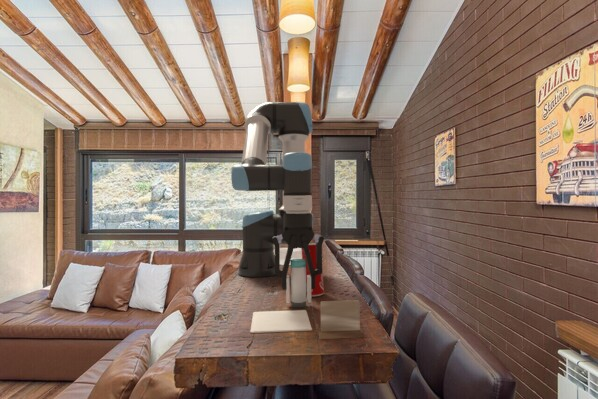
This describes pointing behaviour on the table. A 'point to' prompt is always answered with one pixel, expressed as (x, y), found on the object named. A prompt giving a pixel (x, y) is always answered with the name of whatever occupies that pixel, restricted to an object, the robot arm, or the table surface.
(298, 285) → the marker
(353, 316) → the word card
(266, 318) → the paper
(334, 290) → the table surface
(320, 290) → the beverage can
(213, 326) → the table surface
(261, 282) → the table surface
